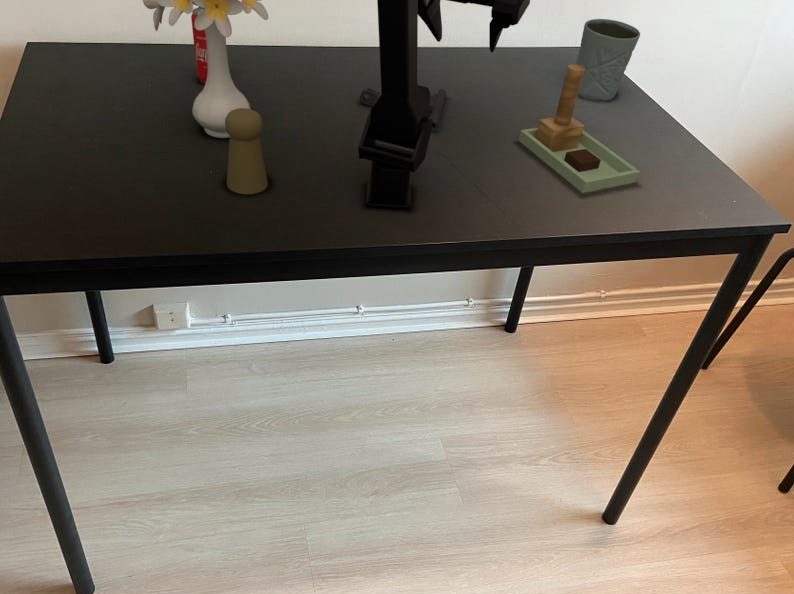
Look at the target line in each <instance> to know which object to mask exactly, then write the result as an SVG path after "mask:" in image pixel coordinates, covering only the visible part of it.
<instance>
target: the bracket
mask: <svg viewBox="0 0 794 594" xmlns="http://www.w3.org/2000/svg"><path fill="white" fill-rule="evenodd" d="M380 93H381V92H379V91H377V90H374V89H373V88H370V87H365V88H364V89H362V91H361V93H360V95H359V100H360V102H361V104H363V105H365V106H369V107H372V106H373V105H374V103H375V101H376V99H377V98H378V96H379V94H380ZM366 96H367V97H368V98H367V97H366ZM446 97H447V90H445V89H443V88H440V89H439V90H438V91H437V93H434V94H431V95H430V118H431V119H432V125H434V130H437V129H438V127H439V124H440V119H441V116H442V112H443V108H444V104H445V100H446Z"/></svg>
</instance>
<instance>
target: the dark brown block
mask: <svg viewBox="0 0 794 594" xmlns="http://www.w3.org/2000/svg"><path fill="white" fill-rule="evenodd" d="M564 161H565V162H567V163H568V164H569V165H570V166H572V167H573V168H574V169H575V170H577V171H578V172H581V171H587V170H592V169H597V168H599V165H600V162H601V160H600V159H599V158H597V157H596V156H595V155H593V154H592V153H591V152H589V151H588V150H587V149H582V150H577V151H571V152H566V155H565V159H564Z"/></svg>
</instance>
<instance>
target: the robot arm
mask: <svg viewBox="0 0 794 594" xmlns="http://www.w3.org/2000/svg"><path fill="white" fill-rule="evenodd" d="M376 1H377V2H376V4H377V19H378V20H377V24H378V26H377V27H378V46H379V47H378V49H379V71H380V86H381V87H380V92H379V93H380V94H379V96H378V98H377V99H376V101H375V103H374V105H373V106H371V108H370V112H369V114H367V117H366V120H365V124H364V127H363V130H362V131H363V132H362V134H361V138H360V140H359V144H358V147H357V153H358V159H361V160H366V161H370V162H371V166H370V168H371V169H370V181H367V184H366V197H365V199H366V201H365V206H366V207H369V208H383V209H397V210H410V209H411V208H412V189H411V186H412V185H410V184H411V183H410V182H411V176H412V175H411V173H416V172H417V170H418V169H419V167H420V166H421V165H422V163H423V162H424V161H425V159H426V156H427V152H428V146H429V142H430V139H431V133H432V129H433V123H432V119H431V118H430V114H431V112H430V96H431V91H430V89H429V87H427V86H422V85H419V84H418V44H419V43H418V34H419V26H418V24H419V23H418V21H419V18H420V19H421V20H422V21H423V23H424V24H425V25H426V27H427V29H428V30H429V31H430V33H431V34H432V36H433V37H434V39H435V41H436V42H438V43H440V42H441V40H442V39H443V24H442V23H443V22H442V12H441V0H376ZM446 1H448V2H452V3H453V2H454V3H459V4H465V5H467V4H472V5H478V6H484V7H490V8H491V11H490V17H491V20H490V22H489V27H488V29H489V37H488V38H489V39H488V40H489V41H488V42H489V43H488V45H489V51H490V53H494V51H495V50H496V48H497V45H498V43H499V40H500V37H501V35H502V32H503V30H505V29H506V30H507V29H509V28H510V27H511V26H515V25H518V24H519V22H520V21H521V19H522V17H523V15H524V14H525V12H526V11H527V9H528V7H529V6H530V4H531V0H446ZM378 141H379V142H378ZM380 142H382V143H380ZM384 143H386V144H384ZM388 144H390V145H388ZM391 145H394V146H391ZM395 146H398V147H395ZM399 147H401V148H399ZM404 148H406V149H404ZM408 149H409V150H408ZM411 150H413V151H411Z"/></svg>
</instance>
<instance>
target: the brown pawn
mask: <svg viewBox="0 0 794 594" xmlns="http://www.w3.org/2000/svg"><path fill="white" fill-rule="evenodd" d="M225 127H226V131H227V133H228V134H229V135H230V137H229V144H228V158H227V173H226V174H227V175H226V186H227V189H229V190H230V191H232V192H234V193H236V194H240V195H254V194H259V193H261V192H263V191H265V190H266V189H267V188H268V185H269V182H268V176H267V170H266V166H265V165H266V164H265V160H264V155H263V149H262V144H261V138H260V136H261V134H262V132H263V128H264V122H263V119H262V116H261V115H260V113H258V111H256V110H254V109H247V108H239V109H235V110H232V111H230V112H229V113H228V115H227V116H226V119H225Z"/></svg>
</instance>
